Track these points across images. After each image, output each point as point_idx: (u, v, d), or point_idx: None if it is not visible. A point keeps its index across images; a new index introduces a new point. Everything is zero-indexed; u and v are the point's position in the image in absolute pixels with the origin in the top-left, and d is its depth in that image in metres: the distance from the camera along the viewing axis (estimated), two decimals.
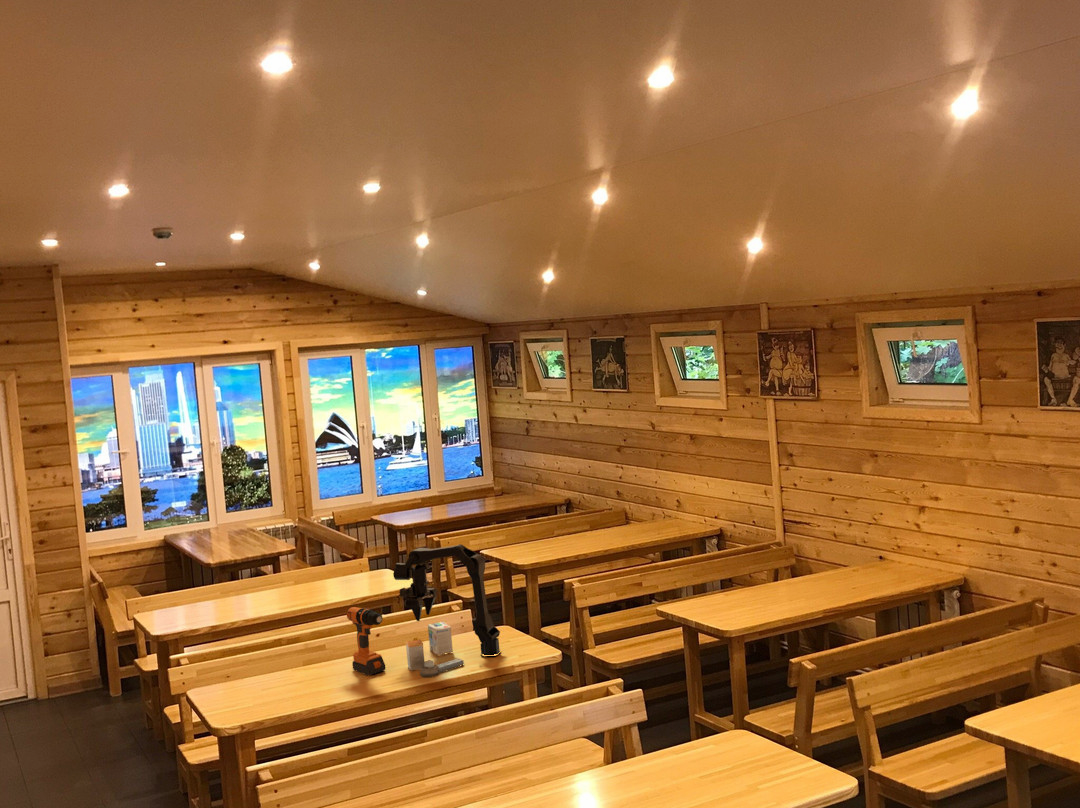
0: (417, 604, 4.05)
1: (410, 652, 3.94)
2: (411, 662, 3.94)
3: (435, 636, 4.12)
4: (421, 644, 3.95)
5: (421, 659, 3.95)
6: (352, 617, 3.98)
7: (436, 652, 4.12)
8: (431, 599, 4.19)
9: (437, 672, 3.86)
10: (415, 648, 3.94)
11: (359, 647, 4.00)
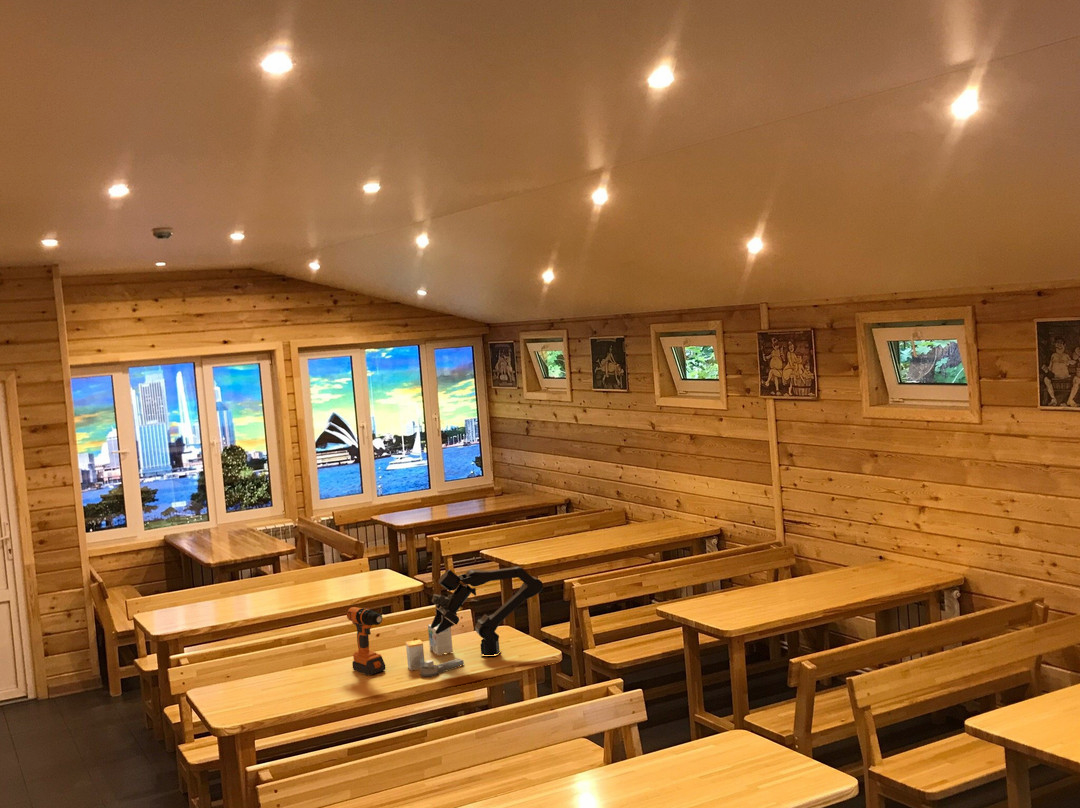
0: (456, 623, 3.93)
1: (410, 652, 3.94)
2: (411, 662, 3.94)
3: (434, 636, 4.12)
4: (421, 644, 3.95)
5: (421, 659, 3.95)
6: (352, 617, 3.98)
7: (436, 652, 4.12)
8: (444, 617, 4.06)
9: (437, 672, 3.86)
10: (415, 648, 3.94)
11: (359, 647, 4.00)
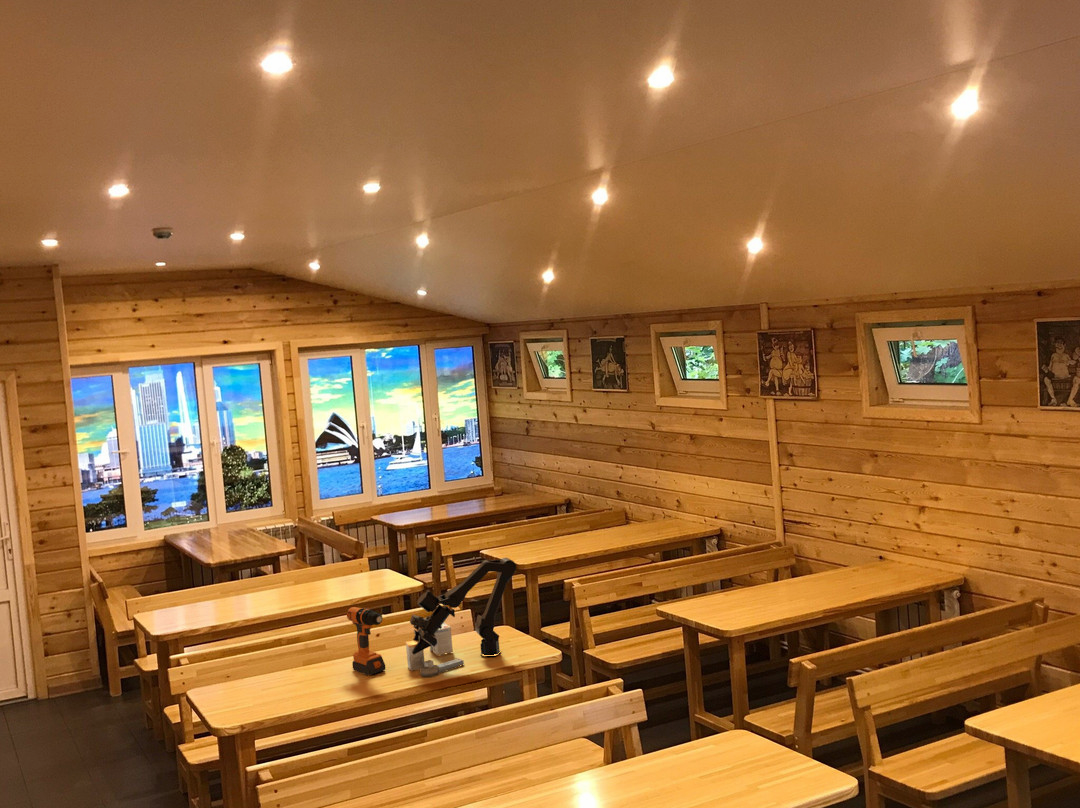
0: (434, 644, 3.90)
1: (410, 652, 3.94)
2: (411, 662, 3.94)
3: None
4: None
5: (421, 659, 3.95)
6: (352, 617, 3.98)
7: (436, 652, 4.12)
8: None
9: (437, 672, 3.86)
10: None
11: (359, 647, 4.00)
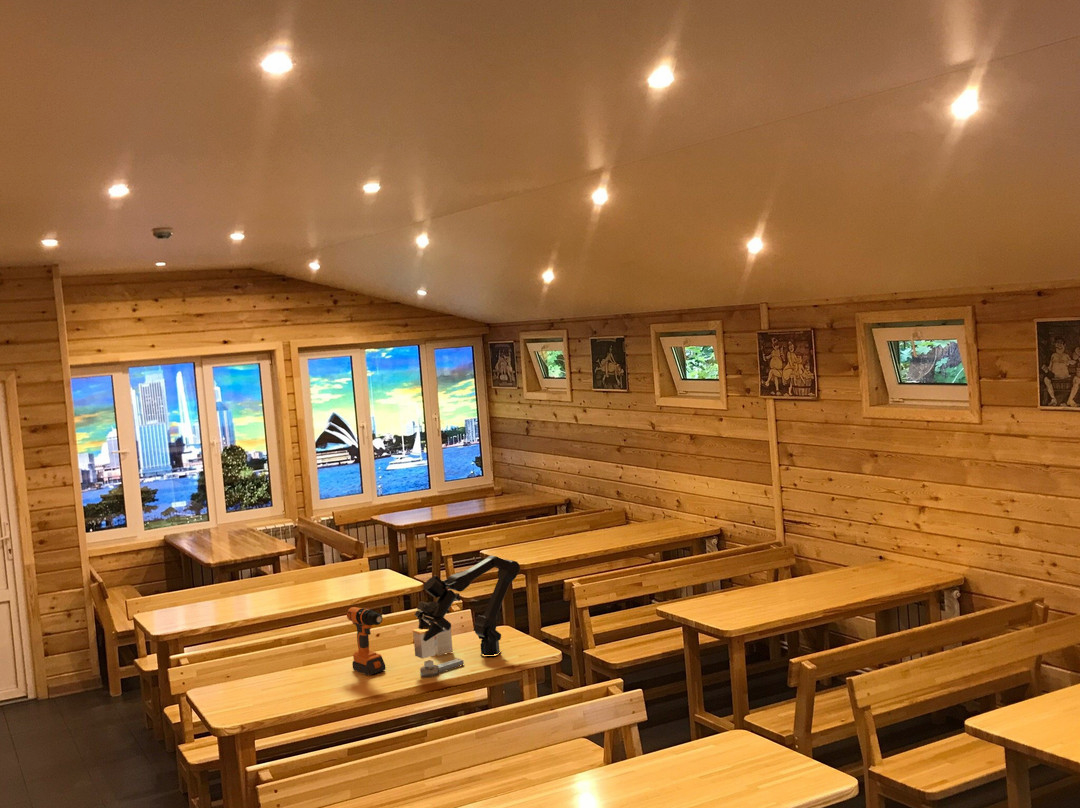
0: (449, 629, 3.85)
1: (422, 639, 3.85)
2: (423, 649, 3.85)
3: (434, 636, 4.12)
4: None
5: (432, 646, 3.88)
6: (352, 617, 3.98)
7: (436, 652, 4.12)
8: (428, 626, 3.94)
9: (437, 672, 3.86)
10: None
11: (359, 647, 4.00)
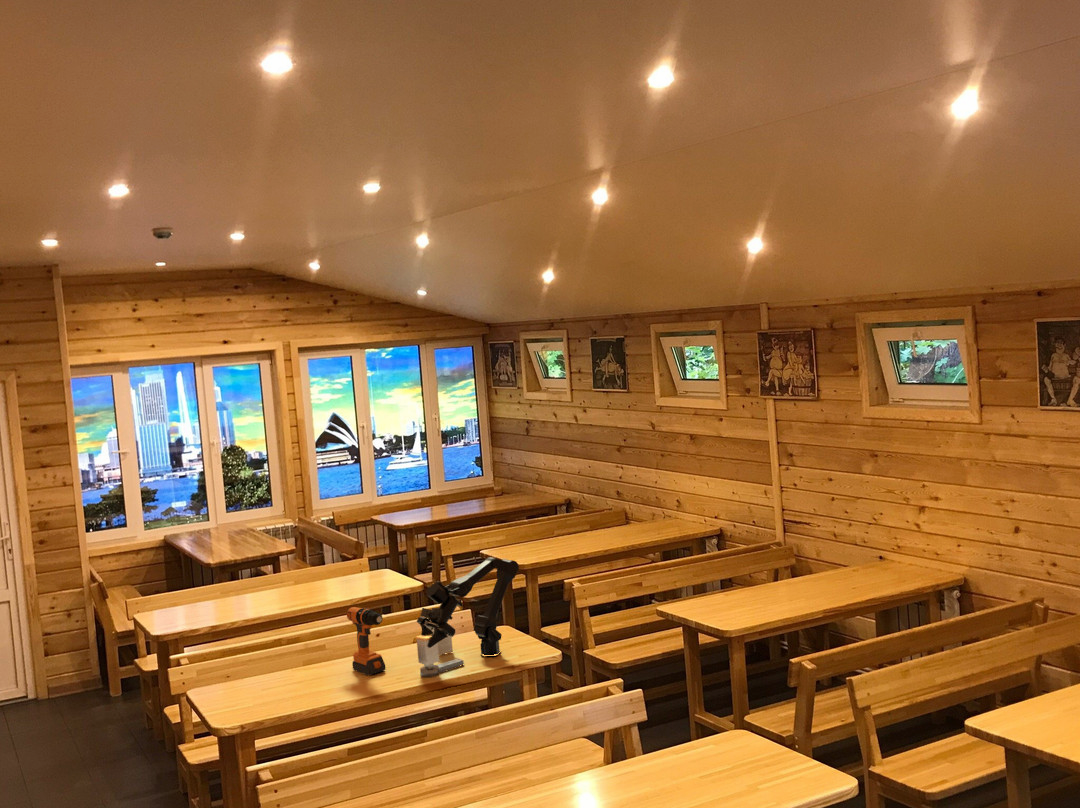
0: (453, 635, 3.84)
1: (426, 645, 3.84)
2: (427, 656, 3.84)
3: None
4: None
5: (435, 652, 3.87)
6: (352, 617, 3.98)
7: None
8: (431, 632, 3.93)
9: (437, 672, 3.86)
10: None
11: (359, 647, 4.00)
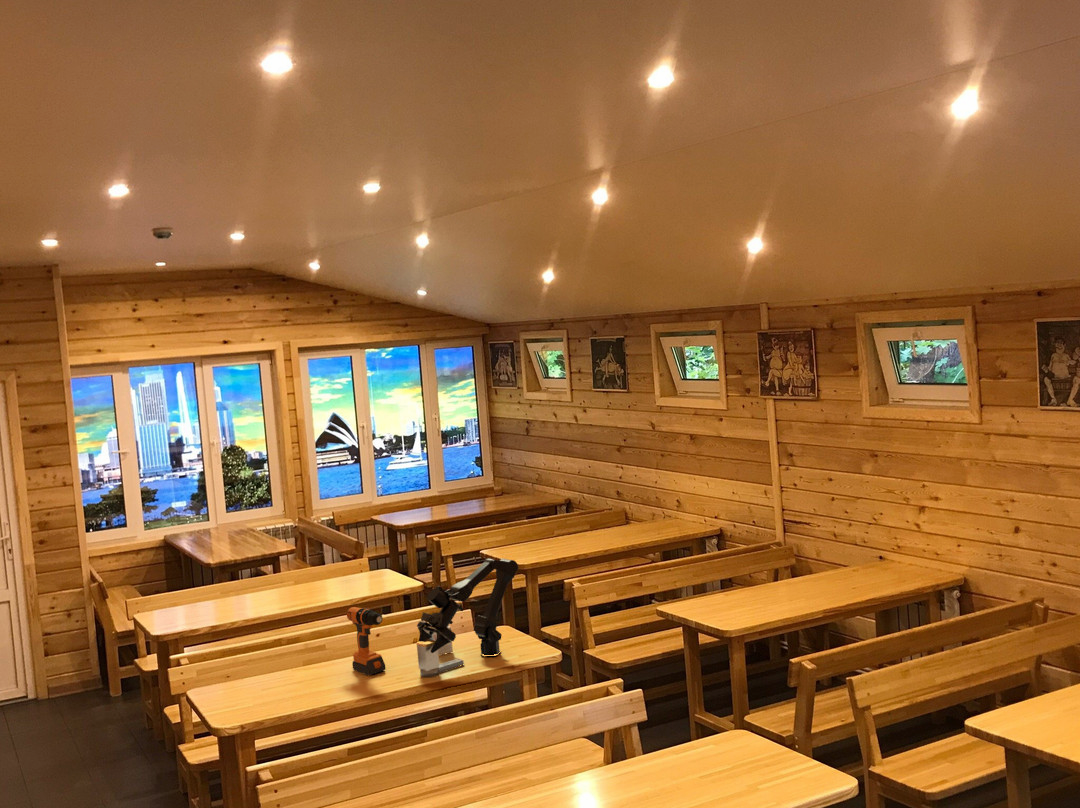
0: (453, 639, 3.84)
1: (426, 651, 3.84)
2: (427, 662, 3.84)
3: (434, 636, 4.12)
4: None
5: (436, 658, 3.87)
6: (352, 617, 3.98)
7: None
8: (429, 636, 3.94)
9: (437, 672, 3.86)
10: (430, 647, 3.85)
11: (359, 647, 4.00)
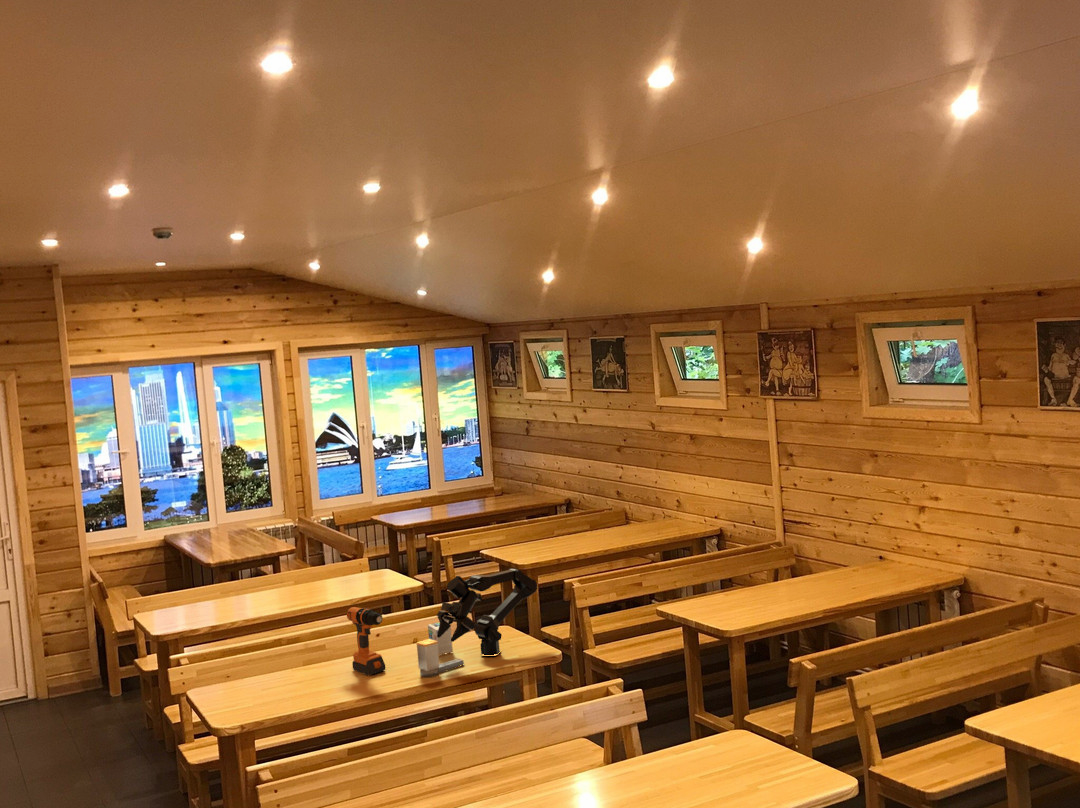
0: (473, 628, 3.90)
1: (426, 651, 3.84)
2: (427, 662, 3.84)
3: (434, 636, 4.12)
4: (436, 642, 3.87)
5: (436, 658, 3.87)
6: (352, 617, 3.98)
7: None
8: (448, 625, 4.00)
9: (437, 672, 3.86)
10: (430, 647, 3.85)
11: (359, 647, 4.00)
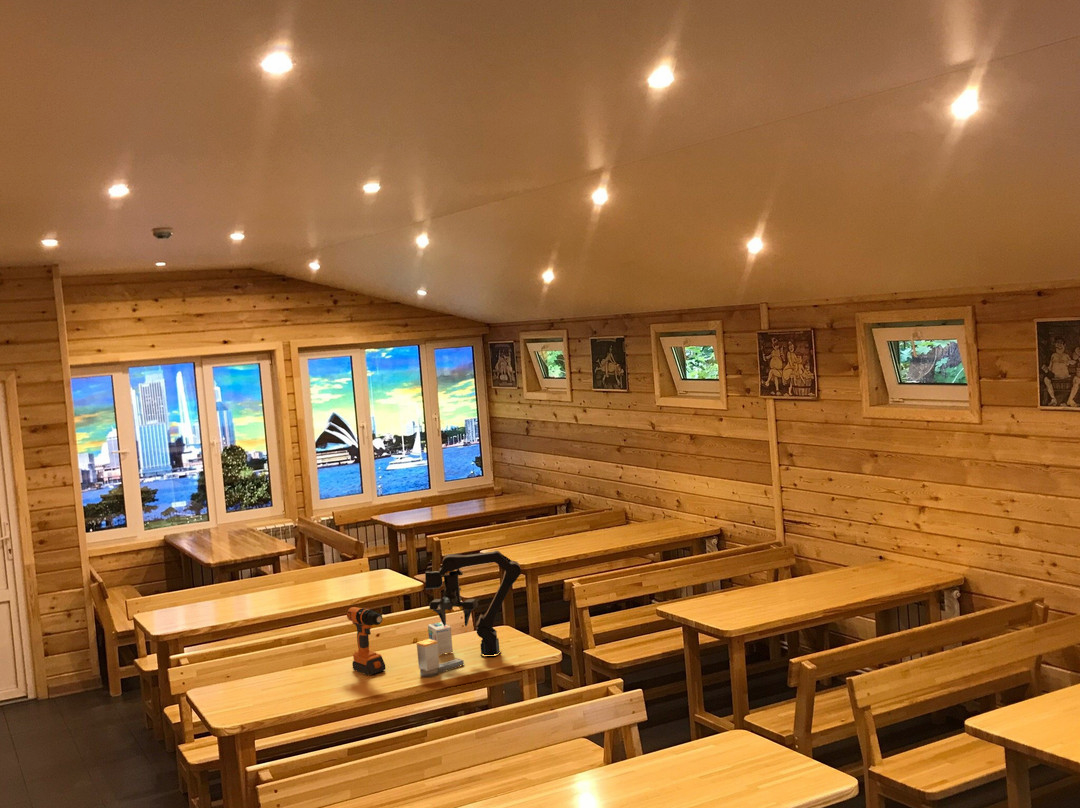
0: None
1: (426, 651, 3.84)
2: (427, 662, 3.84)
3: (434, 636, 4.12)
4: (436, 642, 3.87)
5: (436, 658, 3.87)
6: (352, 617, 3.98)
7: None
8: None
9: (437, 672, 3.86)
10: (430, 647, 3.85)
11: (359, 647, 4.00)
